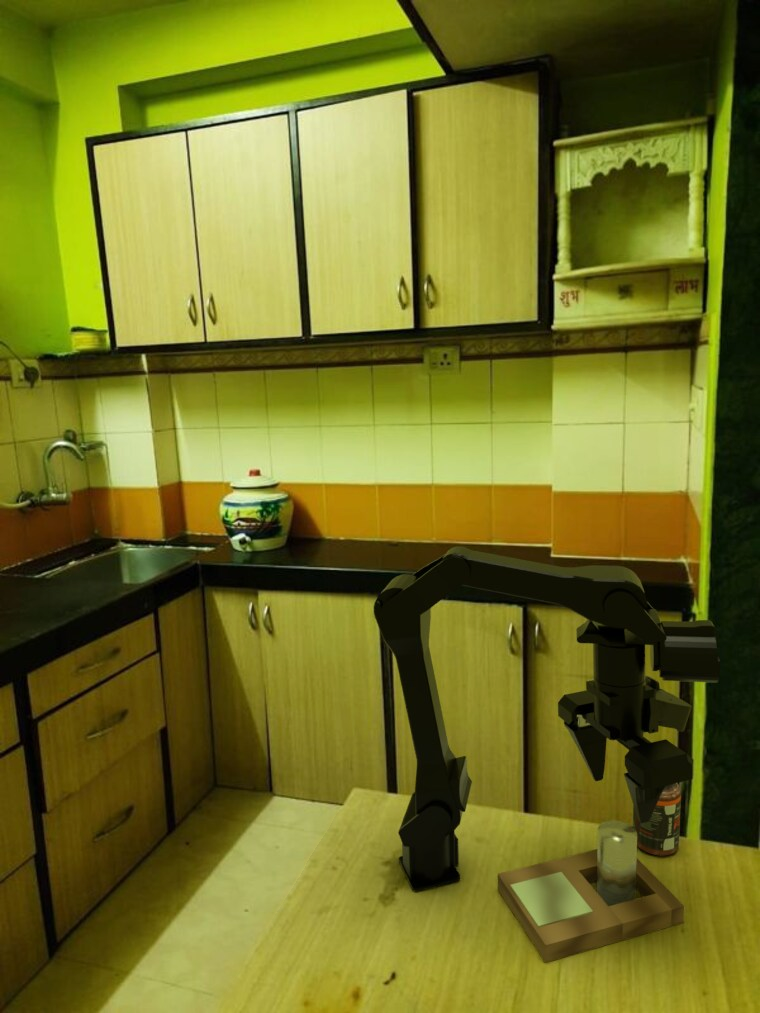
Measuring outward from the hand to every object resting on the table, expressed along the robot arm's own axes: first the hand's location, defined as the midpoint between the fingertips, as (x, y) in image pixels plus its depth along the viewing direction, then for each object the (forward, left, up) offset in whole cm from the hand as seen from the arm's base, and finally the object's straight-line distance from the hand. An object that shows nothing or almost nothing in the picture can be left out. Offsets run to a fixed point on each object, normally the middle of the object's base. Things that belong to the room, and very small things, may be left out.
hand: (620, 799), depth 85 cm
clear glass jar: (0, 0, -13) cm, 13 cm away
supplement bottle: (+11, +7, -13) cm, 19 cm away
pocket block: (-4, 0, -13) cm, 14 cm away
